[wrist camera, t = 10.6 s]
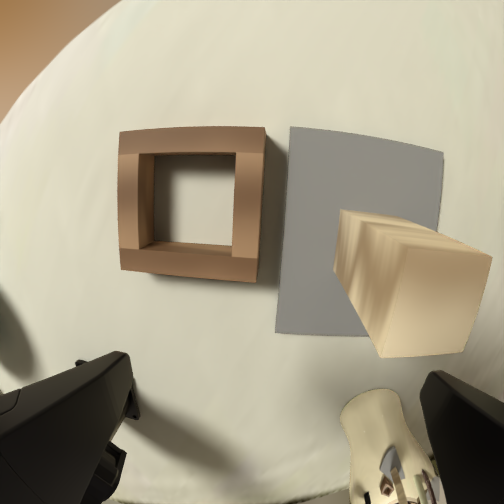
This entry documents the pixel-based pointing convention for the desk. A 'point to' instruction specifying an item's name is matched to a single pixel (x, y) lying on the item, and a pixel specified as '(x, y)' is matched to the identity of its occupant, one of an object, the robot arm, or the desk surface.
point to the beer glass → (386, 454)
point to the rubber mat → (328, 212)
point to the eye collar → (142, 202)
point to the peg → (409, 283)
